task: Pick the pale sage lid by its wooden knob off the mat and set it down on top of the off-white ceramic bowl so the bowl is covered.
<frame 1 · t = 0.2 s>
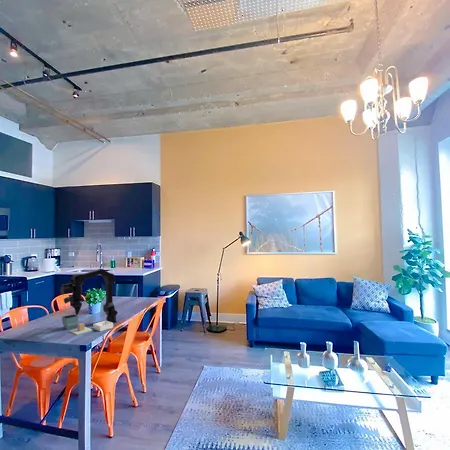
hand: (77, 313, 198), 14 cm above the table, fingers open, 9 cm apart
lid: (81, 327, 199), on the mat
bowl: (103, 328, 205), on the table
mat: (81, 331, 199), on the table
flower pot: (70, 328, 207), on the table
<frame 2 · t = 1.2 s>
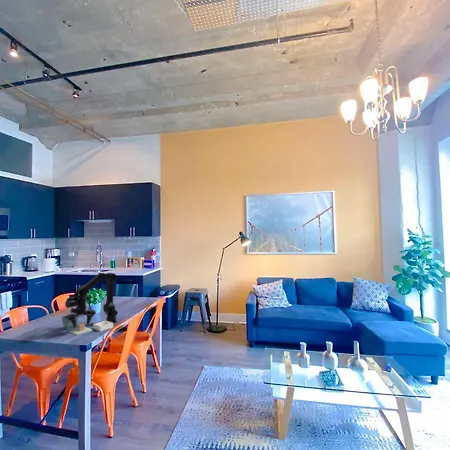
hand: (81, 326, 199), 4 cm above the table, fingers open, 9 cm apart
nothing on the table moved.
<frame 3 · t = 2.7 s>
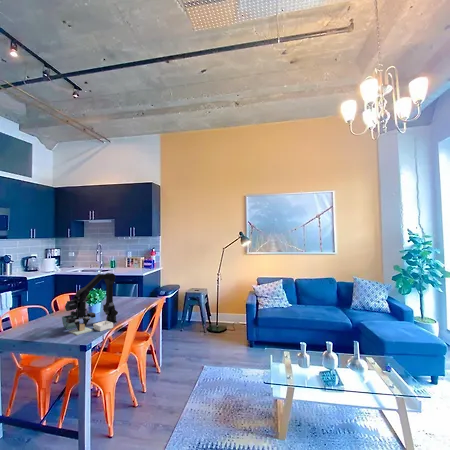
hand: (81, 329, 199), 2 cm above the table, fingers closed on lid, 3 cm apart
lid: (81, 327, 199), on the mat, touching gripper
everything else where it was.
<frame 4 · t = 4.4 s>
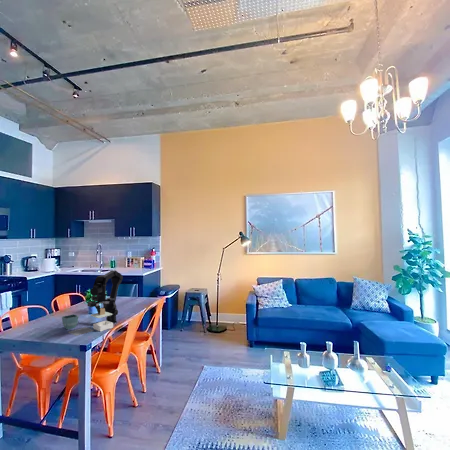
hand: (101, 313, 205), 11 cm above the table, fingers closed on lid, 3 cm apart
lid: (101, 311, 205), point 13 cm above the table, touching gripper
everything else where it was.
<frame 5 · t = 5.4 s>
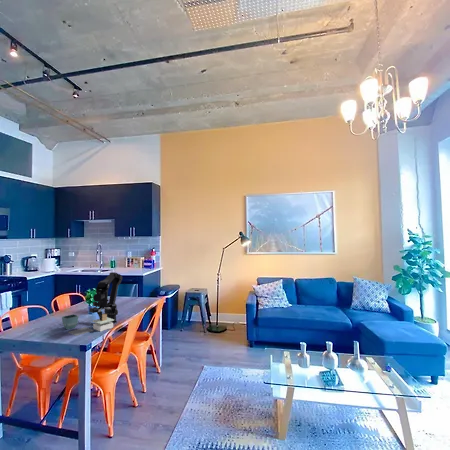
hand: (103, 319, 205), 7 cm above the table, fingers closed on lid, 3 cm apart
lid: (103, 317, 205), point 8 cm above the table, touching gripper
everything else where it was.
when the fingers open (7 cm above the table, at t = 6.1 s): lid drops 1 cm, resting on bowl.
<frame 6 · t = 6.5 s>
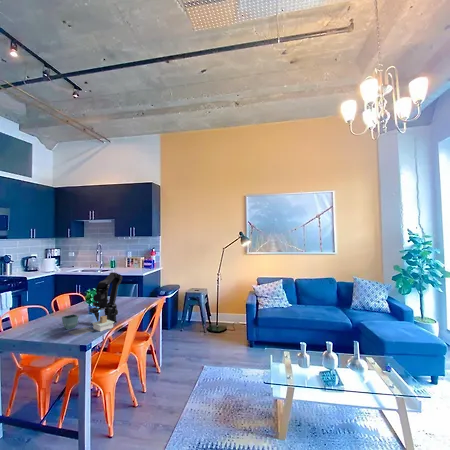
hand: (103, 319, 205), 7 cm above the table, fingers open, 8 cm apart
lid: (103, 319, 205), on the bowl, point 7 cm above the table
everything else where it was.
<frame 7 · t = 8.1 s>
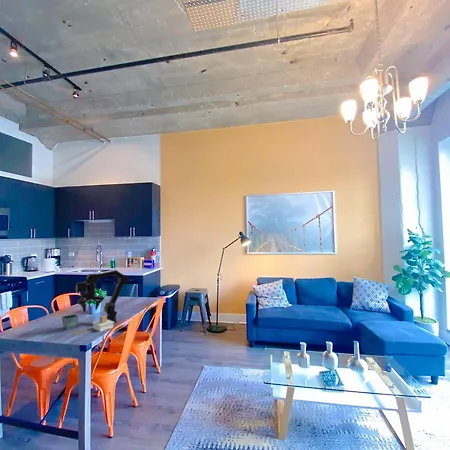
hand: (90, 311, 210), 12 cm above the table, fingers open, 9 cm apart
nothing on the table moved.
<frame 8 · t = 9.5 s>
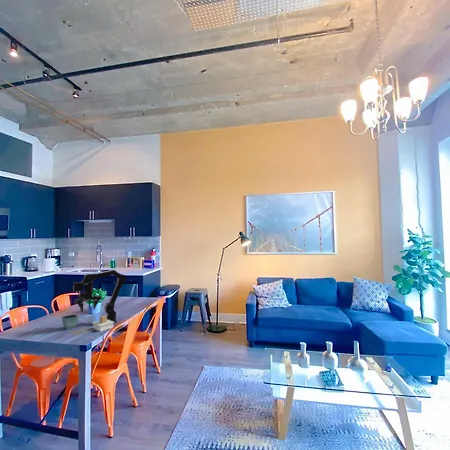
hand: (88, 310, 211), 12 cm above the table, fingers open, 9 cm apart
nothing on the table moved.
at the end: lid 0.0 cm off-centre on the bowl, point 6.6 cm above the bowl's base; lid tilted 0°; the gripper is holding nothing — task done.
